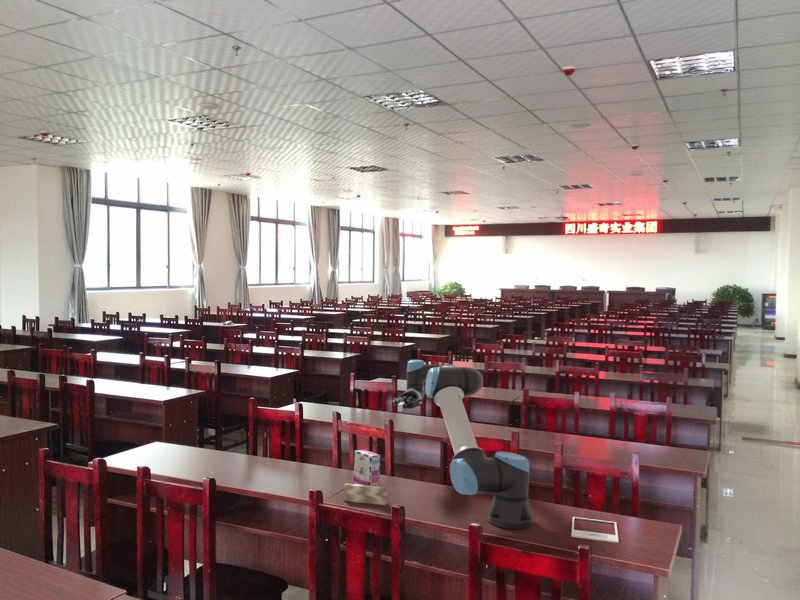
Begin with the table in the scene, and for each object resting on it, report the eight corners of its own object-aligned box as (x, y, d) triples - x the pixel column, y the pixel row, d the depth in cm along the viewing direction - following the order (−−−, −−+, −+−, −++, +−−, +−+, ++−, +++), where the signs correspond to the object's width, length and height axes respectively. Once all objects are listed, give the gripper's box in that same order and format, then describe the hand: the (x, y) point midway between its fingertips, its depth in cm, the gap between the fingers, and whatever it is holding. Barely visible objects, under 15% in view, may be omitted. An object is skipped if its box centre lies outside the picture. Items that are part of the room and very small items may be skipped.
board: (386, 503, 233) (387, 487, 233) (385, 505, 231) (386, 488, 231) (345, 499, 236) (345, 483, 236) (343, 500, 234) (344, 484, 234)
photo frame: (571, 534, 206) (572, 516, 223) (571, 537, 206) (572, 519, 223) (618, 540, 202) (616, 521, 219) (618, 544, 202) (616, 524, 219)
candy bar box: (380, 498, 239) (381, 454, 239) (369, 500, 236) (370, 456, 236) (363, 490, 248) (364, 448, 248) (352, 492, 245) (353, 450, 244)
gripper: (425, 408, 273) (415, 418, 250) (395, 406, 275) (383, 416, 252) (425, 390, 273) (416, 399, 249) (396, 389, 275) (383, 397, 252)
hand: (399, 408), depth 251 cm, fingers closed
